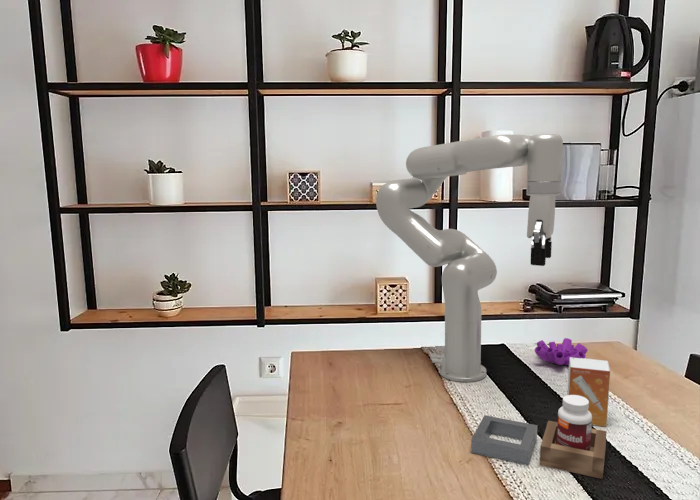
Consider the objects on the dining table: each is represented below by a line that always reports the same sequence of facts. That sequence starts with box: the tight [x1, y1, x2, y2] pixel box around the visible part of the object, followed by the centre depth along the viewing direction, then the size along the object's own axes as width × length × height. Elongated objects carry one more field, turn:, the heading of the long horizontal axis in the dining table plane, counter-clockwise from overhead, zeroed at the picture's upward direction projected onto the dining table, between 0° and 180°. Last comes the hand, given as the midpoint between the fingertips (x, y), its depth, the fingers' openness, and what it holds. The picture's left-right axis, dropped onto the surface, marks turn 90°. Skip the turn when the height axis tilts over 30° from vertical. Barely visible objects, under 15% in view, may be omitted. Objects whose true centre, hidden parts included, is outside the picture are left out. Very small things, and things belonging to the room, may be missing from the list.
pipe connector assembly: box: [534, 337, 589, 366], centre depth 155 cm, size 11×15×10 cm
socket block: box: [470, 414, 538, 466], centre depth 114 cm, size 11×11×3 cm
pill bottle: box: [556, 394, 592, 451], centre depth 108 cm, size 6×6×11 cm
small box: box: [566, 357, 611, 428], centre depth 123 cm, size 8×6×13 cm
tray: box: [539, 420, 608, 480], centre depth 109 cm, size 11×11×4 cm
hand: (541, 261), depth 132 cm, fingers open, 9 cm apart
